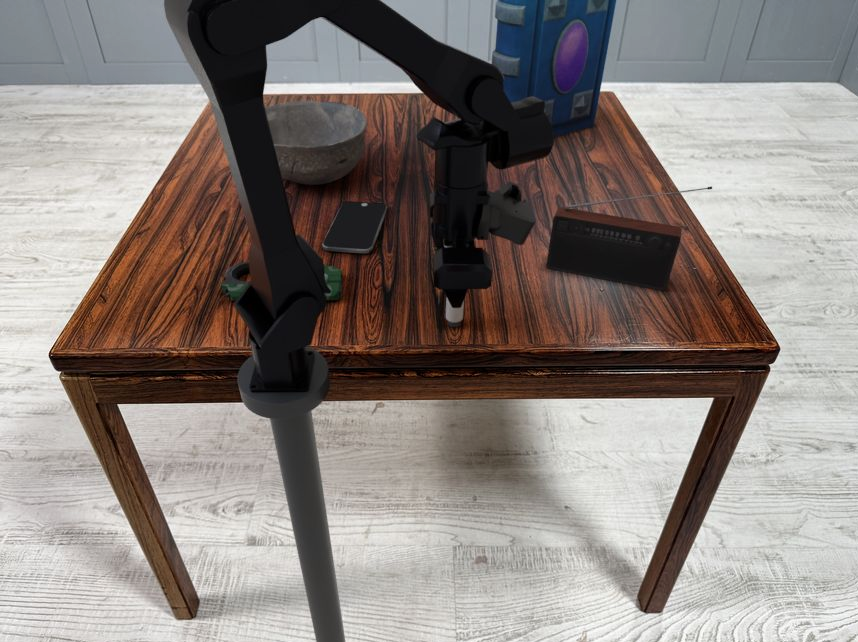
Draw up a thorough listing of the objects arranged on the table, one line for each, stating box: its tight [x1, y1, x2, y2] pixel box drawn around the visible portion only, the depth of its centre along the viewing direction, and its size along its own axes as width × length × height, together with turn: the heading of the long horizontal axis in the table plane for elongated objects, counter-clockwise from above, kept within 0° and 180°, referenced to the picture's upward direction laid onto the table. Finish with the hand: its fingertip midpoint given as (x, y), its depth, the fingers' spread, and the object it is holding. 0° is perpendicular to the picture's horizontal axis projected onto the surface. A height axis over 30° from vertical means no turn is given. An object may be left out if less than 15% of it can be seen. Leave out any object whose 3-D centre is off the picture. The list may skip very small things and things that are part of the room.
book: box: [491, 0, 617, 138], centre depth 122 cm, size 24×9×30 cm, turn 123°
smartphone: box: [321, 200, 388, 254], centre depth 102 cm, size 8×1×15 cm
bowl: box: [265, 99, 368, 186], centre depth 114 cm, size 21×21×10 cm
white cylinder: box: [445, 295, 465, 328], centre depth 81 cm, size 2×2×9 cm
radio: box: [545, 186, 713, 292], centre depth 87 cm, size 19×3×15 cm, turn 70°
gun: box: [220, 260, 344, 302], centre depth 90 cm, size 16×2×10 cm
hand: (455, 294), depth 81 cm, fingers open, 5 cm apart
